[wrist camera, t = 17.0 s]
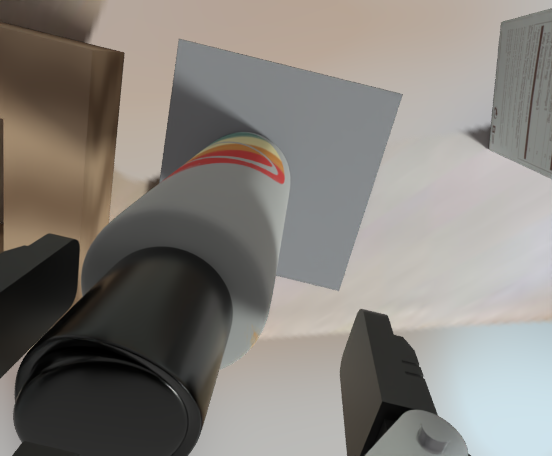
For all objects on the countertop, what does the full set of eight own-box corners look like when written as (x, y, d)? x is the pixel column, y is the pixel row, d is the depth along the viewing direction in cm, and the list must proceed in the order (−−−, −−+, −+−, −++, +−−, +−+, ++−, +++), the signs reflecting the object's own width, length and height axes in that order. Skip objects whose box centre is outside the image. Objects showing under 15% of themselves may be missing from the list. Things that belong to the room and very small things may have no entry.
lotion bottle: (221, 113, 25) (-29, 242, 7) (307, 156, 26) (301, 389, 7) (187, 196, 27) (-83, 475, 9) (267, 234, 28) (179, 577, 9)
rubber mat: (184, 40, 25) (178, 38, 24) (398, 93, 25) (402, 94, 24) (156, 238, 30) (151, 245, 29) (338, 282, 30) (338, 290, 29)
